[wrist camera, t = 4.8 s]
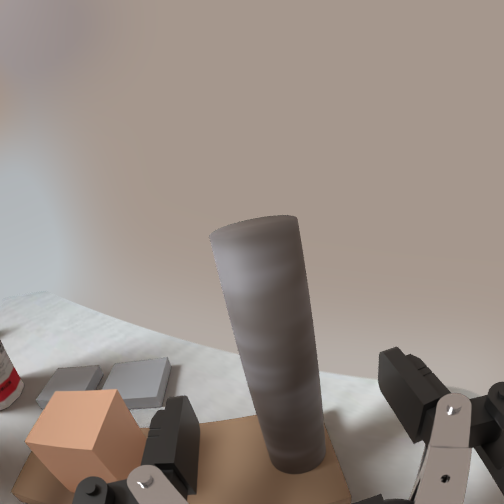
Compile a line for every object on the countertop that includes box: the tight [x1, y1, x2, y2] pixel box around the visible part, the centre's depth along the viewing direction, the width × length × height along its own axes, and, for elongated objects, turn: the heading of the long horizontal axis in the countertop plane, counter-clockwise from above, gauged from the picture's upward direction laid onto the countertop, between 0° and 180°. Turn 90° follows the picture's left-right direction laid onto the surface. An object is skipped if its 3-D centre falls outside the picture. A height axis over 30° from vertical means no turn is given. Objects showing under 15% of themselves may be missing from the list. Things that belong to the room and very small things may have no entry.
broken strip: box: [36, 357, 171, 409], centre depth 25 cm, size 14×6×1 cm, turn 94°
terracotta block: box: [25, 389, 147, 493], centre depth 14 cm, size 5×5×5 cm
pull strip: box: [11, 215, 351, 504], centre depth 13 cm, size 22×8×14 cm, turn 94°
